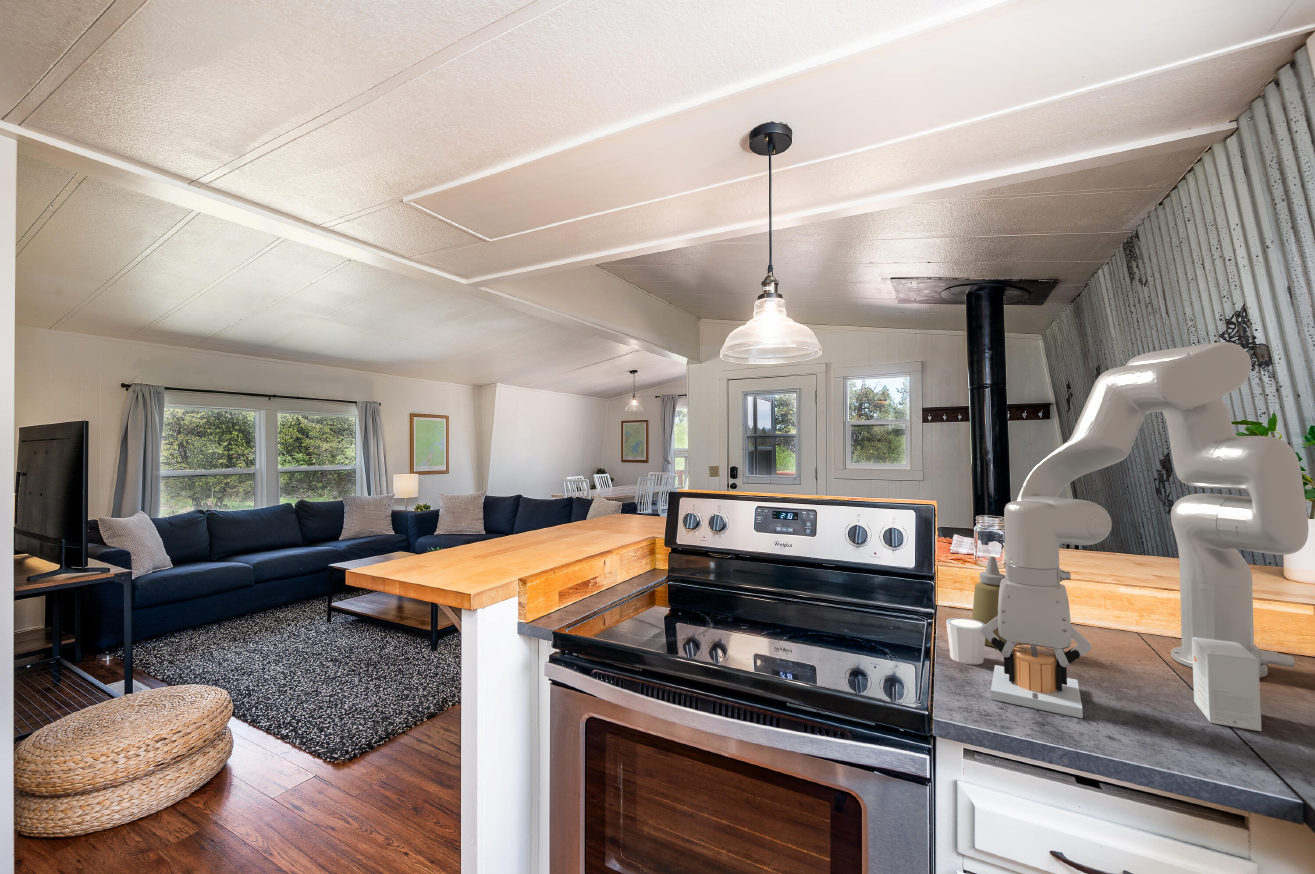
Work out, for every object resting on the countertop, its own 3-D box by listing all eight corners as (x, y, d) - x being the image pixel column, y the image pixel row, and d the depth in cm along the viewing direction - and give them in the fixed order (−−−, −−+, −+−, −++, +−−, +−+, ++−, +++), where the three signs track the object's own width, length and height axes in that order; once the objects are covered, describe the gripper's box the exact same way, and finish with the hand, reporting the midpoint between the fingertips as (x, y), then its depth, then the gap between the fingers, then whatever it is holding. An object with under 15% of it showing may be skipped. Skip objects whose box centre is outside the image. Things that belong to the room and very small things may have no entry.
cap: (1058, 695, 89) (1057, 659, 89) (1014, 687, 92) (1013, 653, 92) (1055, 681, 94) (1054, 647, 94) (1013, 674, 97) (1012, 641, 97)
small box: (1262, 733, 80) (1260, 659, 80) (1208, 723, 82) (1206, 652, 83) (1241, 709, 86) (1239, 641, 86) (1193, 701, 89) (1191, 635, 89)
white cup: (992, 666, 104) (992, 629, 104) (953, 664, 105) (952, 627, 106) (979, 652, 111) (978, 617, 111) (942, 651, 112) (941, 616, 112)
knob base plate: (1077, 688, 95) (1076, 656, 95) (1082, 718, 85) (1081, 682, 85) (995, 673, 101) (994, 642, 101) (991, 699, 91) (990, 665, 91)
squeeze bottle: (1026, 650, 112) (1024, 560, 112) (985, 650, 112) (983, 561, 112) (1001, 636, 120) (999, 552, 120) (964, 636, 120) (962, 553, 120)
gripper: (1095, 576, 91) (1098, 686, 91) (974, 565, 101) (977, 664, 101) (1100, 587, 85) (1103, 704, 85) (971, 574, 95) (973, 680, 95)
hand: (1034, 682), depth 93 cm, fingers closed on cap, 5 cm apart
